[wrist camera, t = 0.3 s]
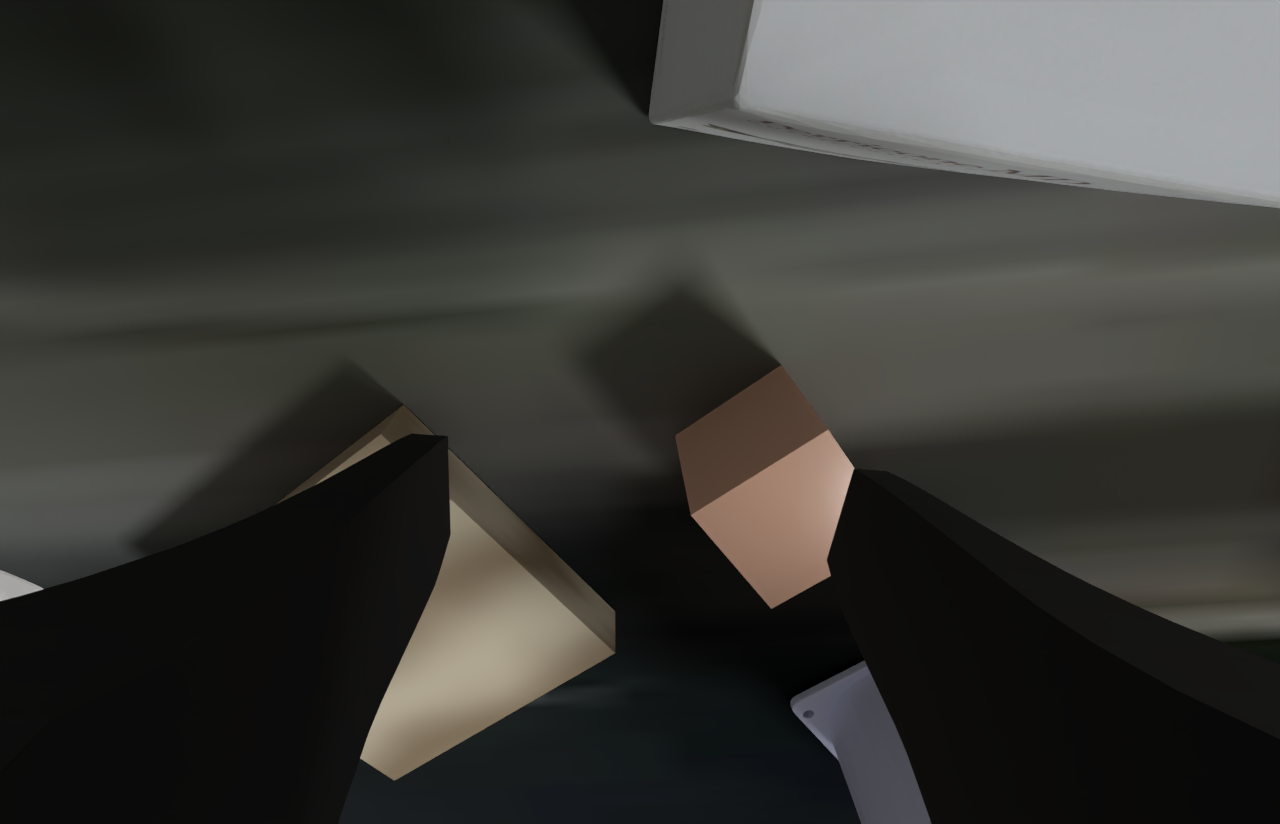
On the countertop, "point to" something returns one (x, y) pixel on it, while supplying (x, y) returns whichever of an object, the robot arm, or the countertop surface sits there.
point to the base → (478, 621)
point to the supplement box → (992, 87)
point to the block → (767, 485)
